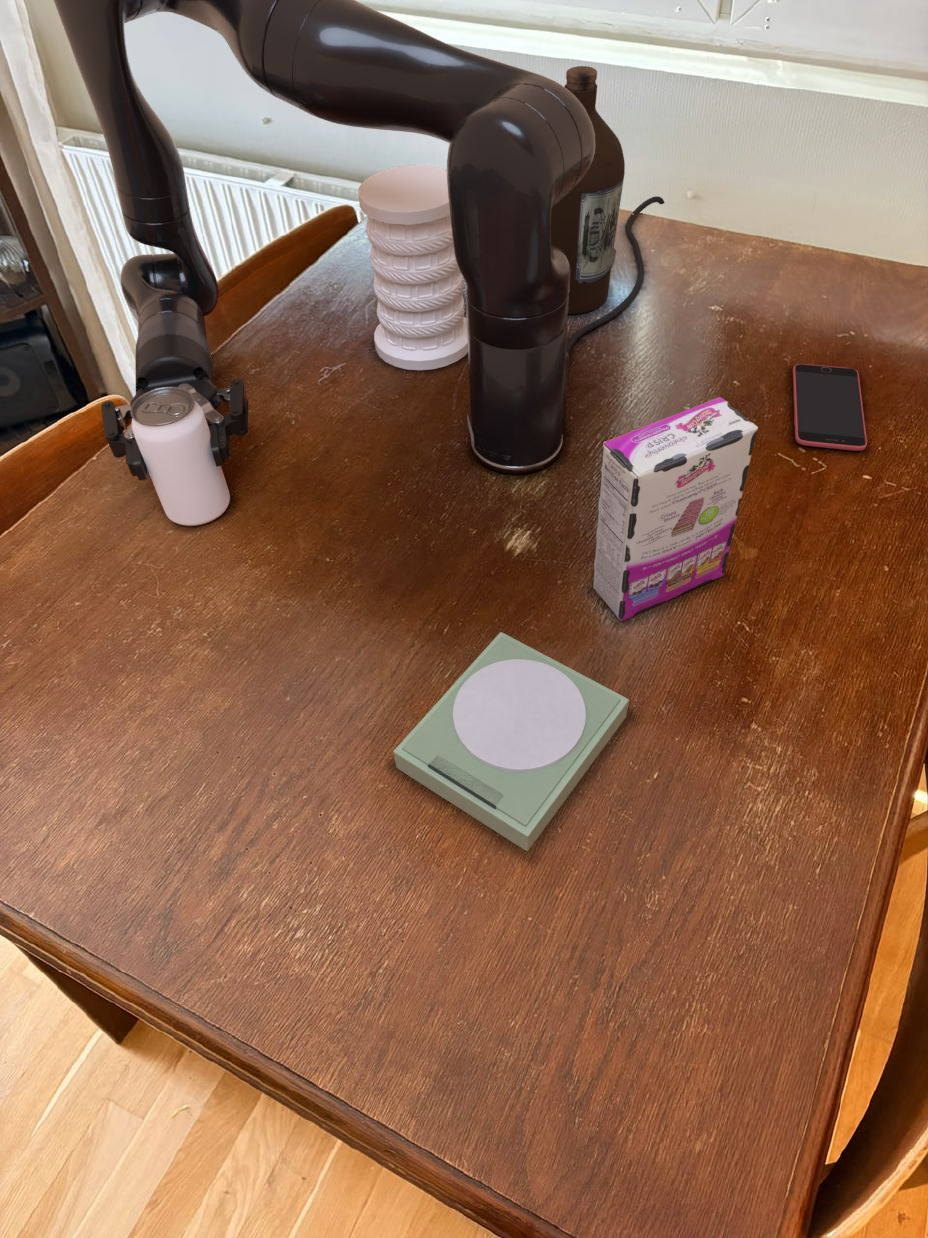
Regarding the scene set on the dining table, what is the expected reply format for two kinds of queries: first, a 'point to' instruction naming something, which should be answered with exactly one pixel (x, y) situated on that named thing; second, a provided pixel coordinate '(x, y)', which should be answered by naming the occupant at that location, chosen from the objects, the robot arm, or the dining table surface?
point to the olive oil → (590, 206)
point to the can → (179, 456)
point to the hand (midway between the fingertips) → (179, 465)
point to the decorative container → (414, 268)
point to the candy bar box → (669, 505)
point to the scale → (512, 738)
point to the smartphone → (828, 407)
